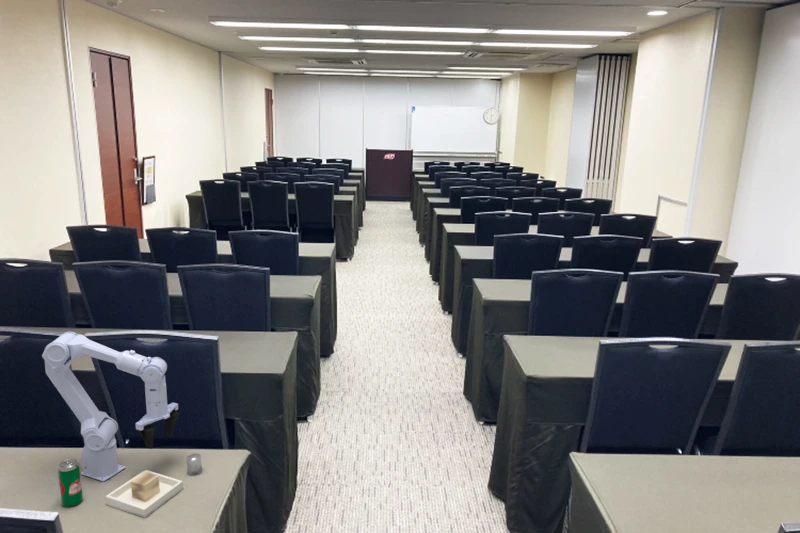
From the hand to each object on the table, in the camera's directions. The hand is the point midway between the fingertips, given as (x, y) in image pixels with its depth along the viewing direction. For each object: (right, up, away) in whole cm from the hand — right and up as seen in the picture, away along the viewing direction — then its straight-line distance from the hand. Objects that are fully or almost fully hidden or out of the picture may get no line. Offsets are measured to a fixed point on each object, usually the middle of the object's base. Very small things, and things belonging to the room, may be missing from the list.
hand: (159, 441), depth 168 cm
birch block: (+1, -12, -11) cm, 16 cm away
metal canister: (+10, -10, +1) cm, 14 cm away
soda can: (-18, -13, -14) cm, 26 cm away
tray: (+1, -12, -11) cm, 16 cm away
